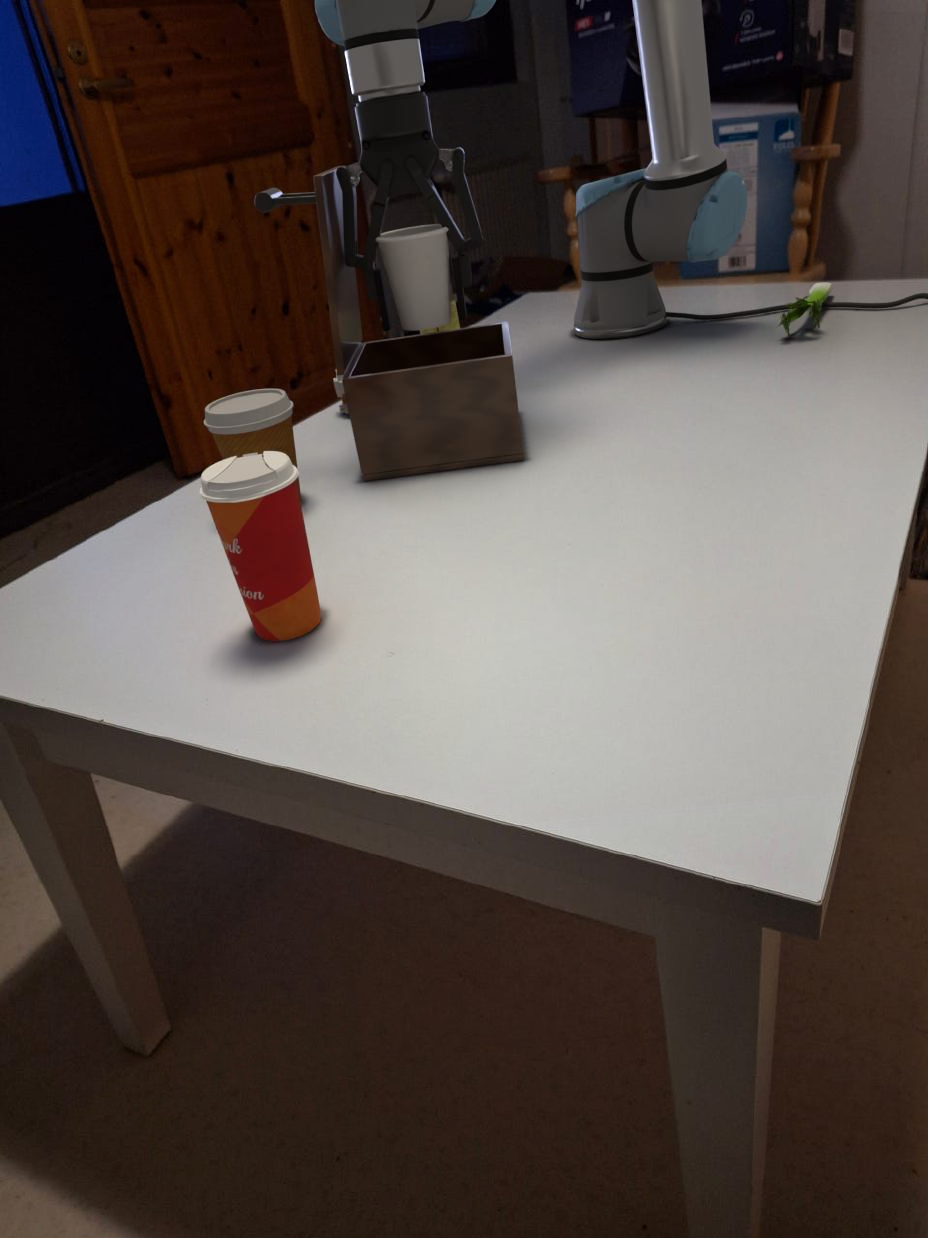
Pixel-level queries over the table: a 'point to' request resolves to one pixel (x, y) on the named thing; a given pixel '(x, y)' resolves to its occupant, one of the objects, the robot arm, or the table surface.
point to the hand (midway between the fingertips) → (425, 322)
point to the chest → (434, 402)
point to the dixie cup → (418, 274)
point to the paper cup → (265, 541)
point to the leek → (807, 305)
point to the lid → (329, 260)
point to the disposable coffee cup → (253, 424)
